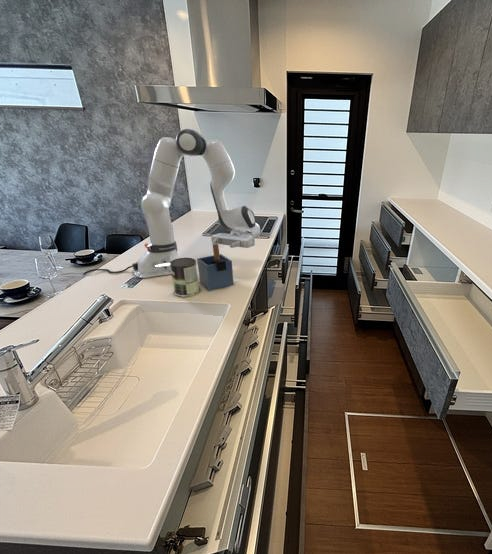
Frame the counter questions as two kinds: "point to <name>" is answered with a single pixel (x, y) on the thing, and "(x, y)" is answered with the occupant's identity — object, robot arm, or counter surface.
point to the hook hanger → (218, 259)
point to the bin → (214, 273)
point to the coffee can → (184, 276)
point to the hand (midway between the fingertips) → (222, 244)
